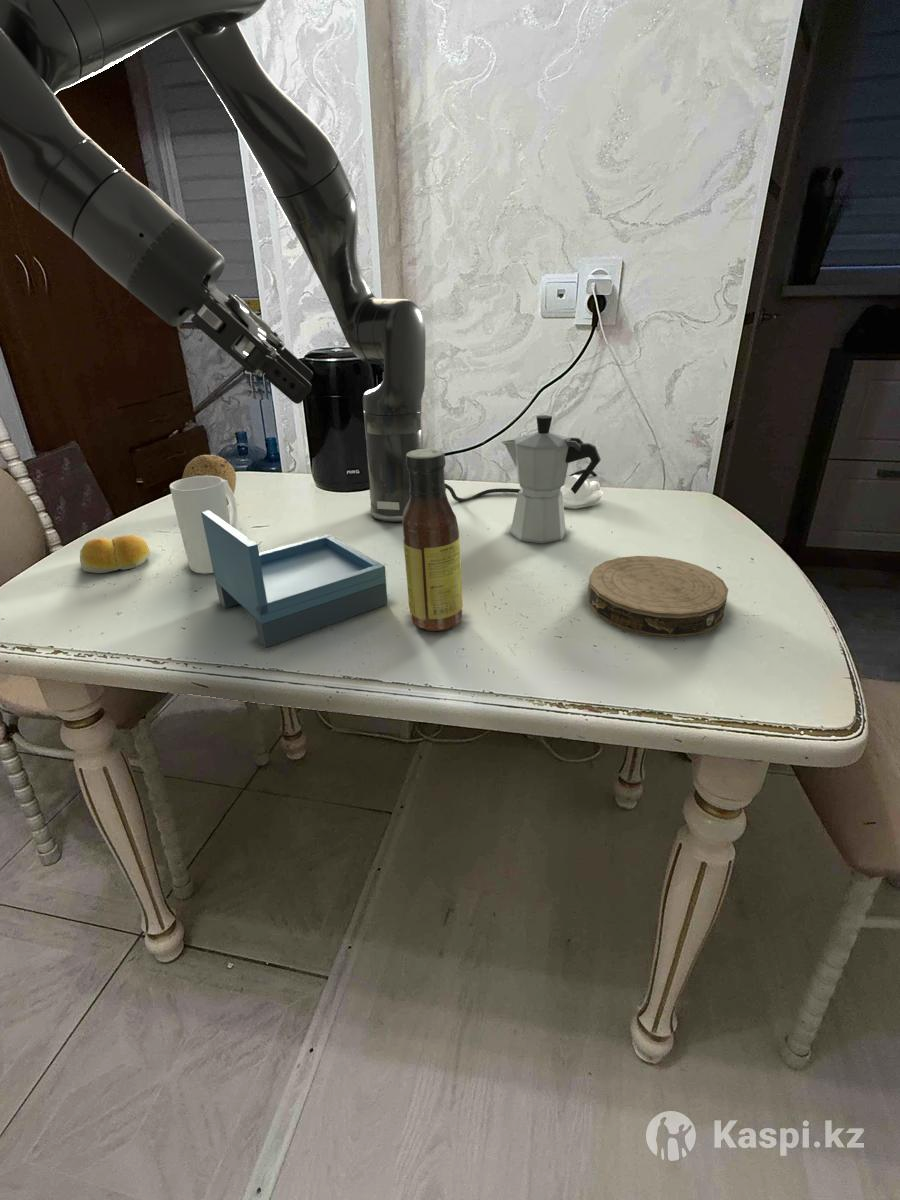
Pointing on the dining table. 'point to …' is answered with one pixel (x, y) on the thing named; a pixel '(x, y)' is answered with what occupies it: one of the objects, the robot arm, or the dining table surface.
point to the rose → (580, 493)
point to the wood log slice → (657, 596)
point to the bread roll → (113, 554)
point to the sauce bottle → (431, 545)
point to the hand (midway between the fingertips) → (307, 389)
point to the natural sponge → (211, 469)
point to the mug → (190, 503)
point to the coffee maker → (545, 480)
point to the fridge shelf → (292, 581)
